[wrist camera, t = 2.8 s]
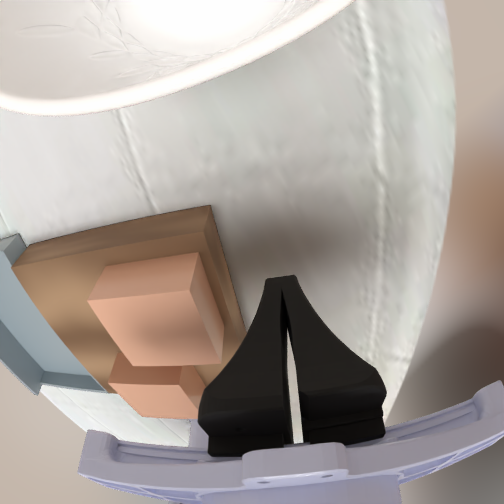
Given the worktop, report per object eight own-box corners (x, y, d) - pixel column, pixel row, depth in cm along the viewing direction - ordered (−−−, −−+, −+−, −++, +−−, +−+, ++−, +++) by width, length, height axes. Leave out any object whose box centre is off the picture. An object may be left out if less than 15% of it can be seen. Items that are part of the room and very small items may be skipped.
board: (256, 365, 23) (257, 392, 21) (115, 370, 24) (108, 392, 22) (210, 205, 15) (203, 231, 13) (29, 244, 16) (10, 267, 14)
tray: (116, 376, 25) (107, 407, 22) (44, 369, 26) (34, 394, 23) (19, 233, 16) (-10, 265, 13) (-41, 254, 17) (-62, 279, 14)
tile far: (207, 389, 20) (204, 419, 18) (147, 389, 21) (141, 416, 19) (185, 350, 18) (179, 384, 16) (117, 352, 18) (107, 382, 16)
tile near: (224, 325, 16) (221, 363, 14) (143, 332, 17) (133, 366, 15) (198, 252, 13) (189, 289, 11) (105, 266, 14) (86, 300, 12)
